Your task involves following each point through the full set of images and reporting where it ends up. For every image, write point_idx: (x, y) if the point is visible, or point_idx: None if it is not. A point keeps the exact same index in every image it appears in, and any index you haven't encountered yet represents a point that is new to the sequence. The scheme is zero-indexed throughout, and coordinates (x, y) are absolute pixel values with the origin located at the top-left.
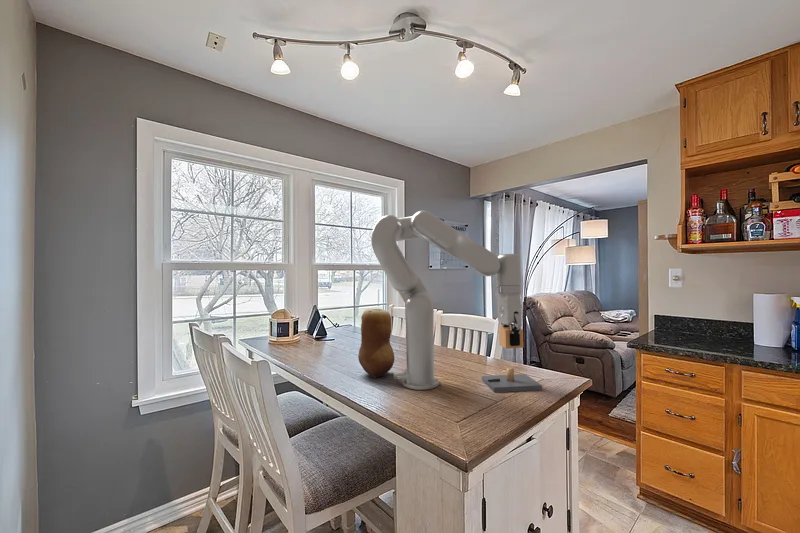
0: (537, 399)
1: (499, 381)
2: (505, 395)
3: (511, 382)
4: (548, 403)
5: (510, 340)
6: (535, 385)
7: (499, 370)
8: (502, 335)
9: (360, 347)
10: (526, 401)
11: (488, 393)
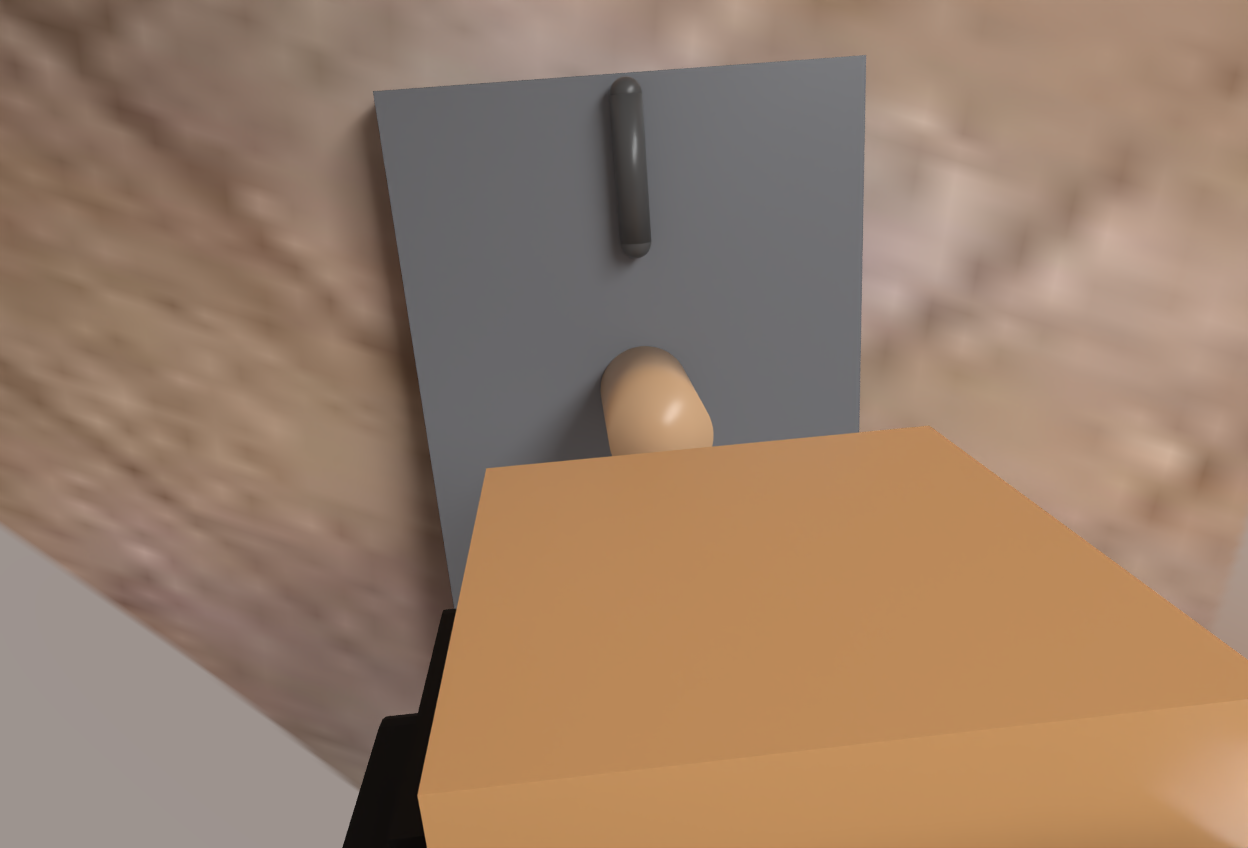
0: (187, 506)
1: (613, 241)
2: (284, 207)
3: (566, 378)
4: (86, 568)
5: (428, 684)
6: (453, 600)
7: (1176, 404)
8: (756, 587)
9: None
10: (114, 380)
11: (344, 9)
